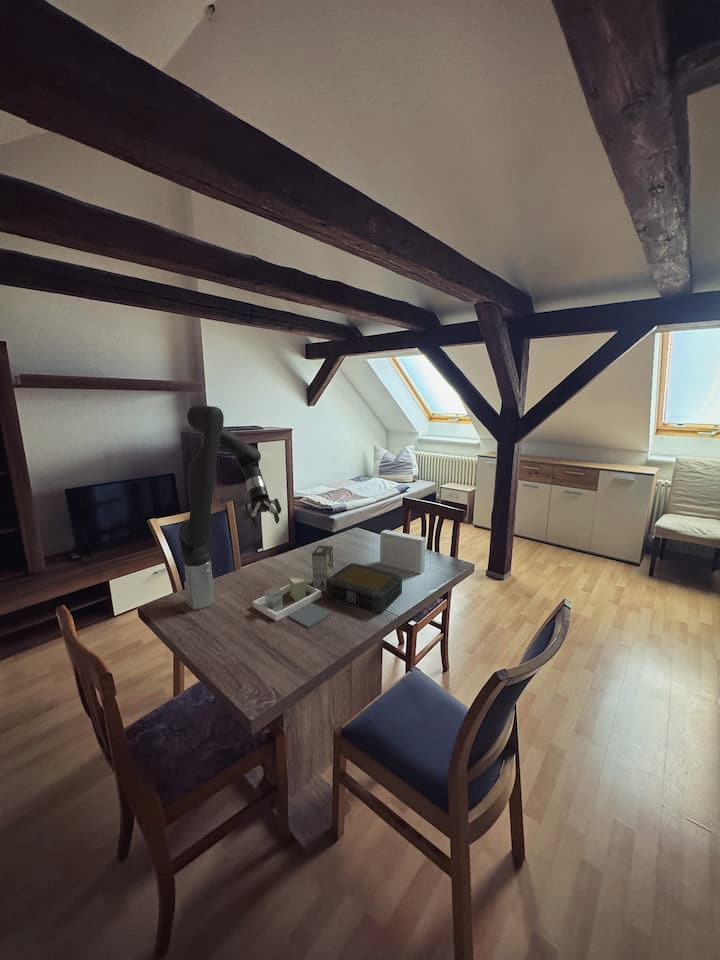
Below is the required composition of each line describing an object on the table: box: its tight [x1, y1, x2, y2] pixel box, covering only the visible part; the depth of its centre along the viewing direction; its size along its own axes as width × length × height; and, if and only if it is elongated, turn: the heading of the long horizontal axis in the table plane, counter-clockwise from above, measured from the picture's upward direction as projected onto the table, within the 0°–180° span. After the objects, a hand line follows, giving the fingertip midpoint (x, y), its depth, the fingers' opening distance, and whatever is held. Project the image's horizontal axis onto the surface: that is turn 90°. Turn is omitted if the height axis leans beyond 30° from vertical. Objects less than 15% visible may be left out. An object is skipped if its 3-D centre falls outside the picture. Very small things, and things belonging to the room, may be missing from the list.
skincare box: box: [379, 529, 427, 575], centre depth 175 cm, size 21×6×16 cm, turn 58°
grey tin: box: [264, 586, 284, 613], centre depth 141 cm, size 4×4×8 cm
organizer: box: [252, 583, 322, 622], centre depth 147 cm, size 22×14×2 cm, turn 139°
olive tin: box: [289, 575, 307, 602], centre depth 150 cm, size 5×5×8 cm
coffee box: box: [311, 545, 334, 592], centre depth 158 cm, size 9×6×16 cm
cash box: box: [325, 562, 403, 615], centre depth 151 cm, size 25×20×8 cm
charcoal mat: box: [287, 602, 332, 629], centre depth 137 cm, size 11×11×1 cm
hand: (267, 524), depth 151 cm, fingers open, 8 cm apart
